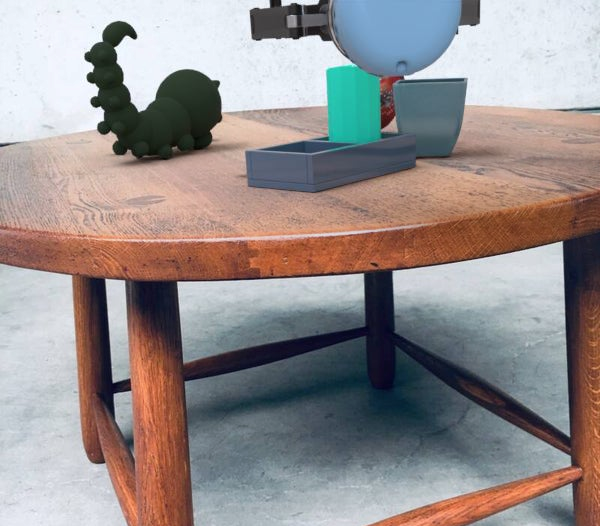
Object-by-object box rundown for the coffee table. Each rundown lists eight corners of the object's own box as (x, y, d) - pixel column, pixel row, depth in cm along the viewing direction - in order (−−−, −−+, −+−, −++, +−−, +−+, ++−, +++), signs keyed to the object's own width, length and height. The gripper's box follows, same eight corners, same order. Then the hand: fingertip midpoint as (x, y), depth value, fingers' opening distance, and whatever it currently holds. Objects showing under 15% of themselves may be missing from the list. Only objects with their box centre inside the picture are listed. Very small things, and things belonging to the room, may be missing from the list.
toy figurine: (142, 181, 117) (251, 139, 135) (114, 24, 109) (235, 2, 127) (90, 178, 122) (202, 137, 140) (59, 28, 113) (183, 6, 132)
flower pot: (466, 149, 117) (467, 76, 113) (465, 159, 109) (467, 80, 105) (398, 151, 118) (397, 79, 115) (393, 161, 110) (392, 83, 107)
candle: (368, 166, 101) (365, 51, 96) (320, 165, 103) (315, 53, 99) (389, 158, 105) (388, 48, 101) (343, 157, 108) (340, 50, 104)
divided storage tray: (416, 167, 105) (415, 133, 104) (314, 192, 92) (312, 154, 91) (351, 162, 111) (350, 130, 110) (247, 186, 98) (244, 150, 97)
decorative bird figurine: (413, 136, 133) (413, 64, 129) (337, 152, 121) (335, 73, 117) (397, 136, 134) (397, 64, 131) (321, 151, 122) (318, 73, 119)
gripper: (216, 79, 68) (233, 67, 88) (544, 57, 68) (488, 50, 88) (206, -30, 66) (226, -17, 85) (549, -53, 65) (489, -35, 85)
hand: (358, 17), depth 86 cm, fingers open, 13 cm apart
